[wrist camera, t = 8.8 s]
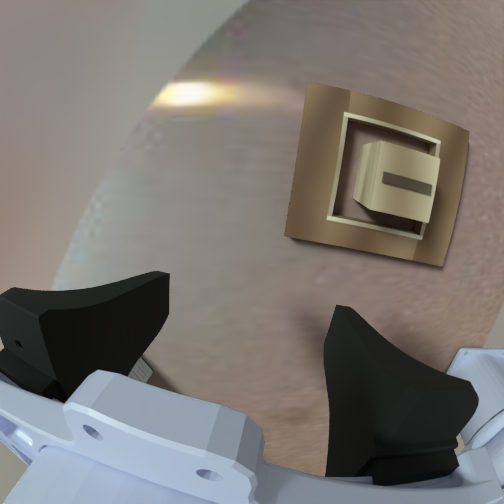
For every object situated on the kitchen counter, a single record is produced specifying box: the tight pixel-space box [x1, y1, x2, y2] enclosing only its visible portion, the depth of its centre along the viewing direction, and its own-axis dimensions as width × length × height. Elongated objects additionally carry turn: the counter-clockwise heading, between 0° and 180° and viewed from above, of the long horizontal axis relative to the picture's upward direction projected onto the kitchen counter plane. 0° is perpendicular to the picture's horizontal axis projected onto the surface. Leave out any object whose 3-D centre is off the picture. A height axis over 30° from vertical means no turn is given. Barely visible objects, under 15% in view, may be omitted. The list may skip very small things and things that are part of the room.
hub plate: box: [284, 82, 469, 267], centre depth 18 cm, size 13×11×1 cm
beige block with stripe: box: [353, 141, 440, 223], centre depth 17 cm, size 4×4×5 cm
